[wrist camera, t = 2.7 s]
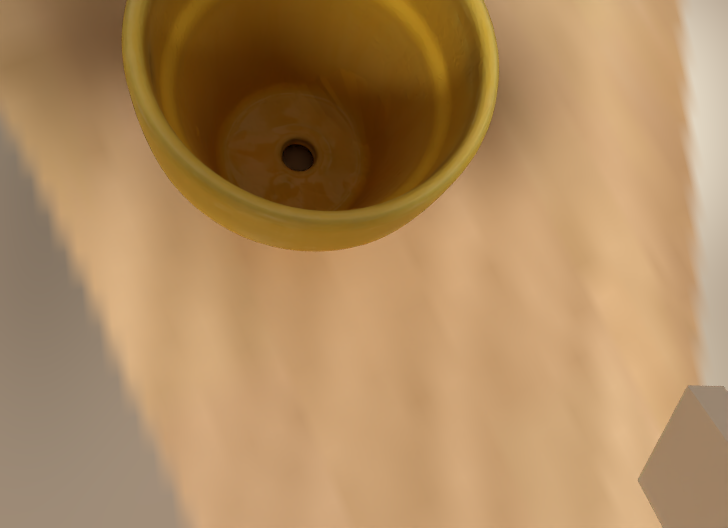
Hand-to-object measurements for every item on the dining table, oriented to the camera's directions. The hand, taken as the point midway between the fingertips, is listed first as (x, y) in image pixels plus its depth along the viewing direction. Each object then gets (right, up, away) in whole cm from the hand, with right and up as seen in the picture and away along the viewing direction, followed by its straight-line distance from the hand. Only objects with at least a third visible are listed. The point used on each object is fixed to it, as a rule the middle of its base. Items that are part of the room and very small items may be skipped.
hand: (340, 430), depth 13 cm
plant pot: (-2, +7, +15) cm, 17 cm away
